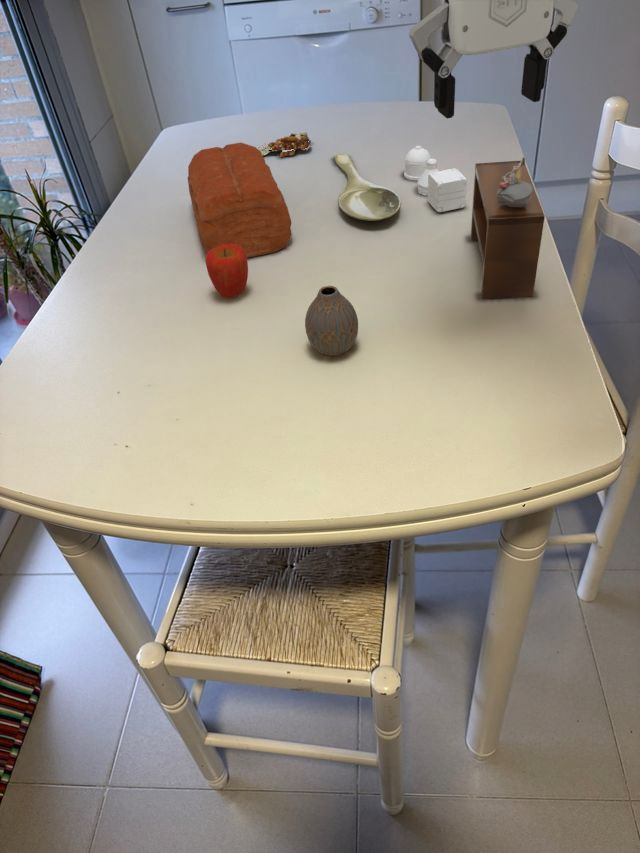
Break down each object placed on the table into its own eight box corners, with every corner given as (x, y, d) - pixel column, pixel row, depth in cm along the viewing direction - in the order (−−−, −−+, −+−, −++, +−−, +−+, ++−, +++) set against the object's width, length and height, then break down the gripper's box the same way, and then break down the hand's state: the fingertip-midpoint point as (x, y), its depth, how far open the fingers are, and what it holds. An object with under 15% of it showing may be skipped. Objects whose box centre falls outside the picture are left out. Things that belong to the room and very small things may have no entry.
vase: (298, 353, 86) (289, 297, 80) (327, 327, 90) (321, 271, 84) (341, 368, 83) (335, 311, 77) (369, 340, 87) (366, 283, 81)
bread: (269, 186, 127) (260, 130, 120) (298, 248, 108) (290, 186, 100) (191, 202, 125) (177, 146, 118) (206, 267, 106) (191, 206, 99)
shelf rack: (515, 235, 104) (523, 160, 95) (532, 296, 91) (544, 215, 83) (470, 237, 105) (475, 163, 96) (481, 298, 92) (488, 219, 83)
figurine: (534, 211, 84) (540, 165, 80) (499, 214, 84) (503, 168, 80) (525, 193, 88) (531, 148, 83) (492, 196, 88) (496, 152, 84)
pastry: (256, 149, 142) (253, 132, 140) (310, 141, 142) (308, 124, 140) (257, 161, 137) (254, 144, 135) (313, 153, 137) (311, 136, 135)
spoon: (316, 168, 135) (315, 158, 134) (365, 160, 136) (365, 149, 134) (349, 233, 108) (348, 221, 107) (411, 222, 109) (411, 210, 108)
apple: (244, 306, 96) (235, 261, 91) (207, 303, 98) (195, 258, 93) (258, 283, 101) (250, 239, 95) (222, 281, 102) (212, 237, 97)
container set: (465, 209, 112) (467, 178, 108) (436, 215, 111) (437, 183, 108) (426, 167, 126) (426, 138, 123) (400, 172, 126) (400, 143, 122)
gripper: (424, -79, 54) (423, 132, 66) (614, -109, 56) (580, 102, 68) (397, -85, 60) (400, 110, 72) (571, -113, 62) (546, 83, 73)
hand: (488, 106), depth 70 cm, fingers open, 9 cm apart
